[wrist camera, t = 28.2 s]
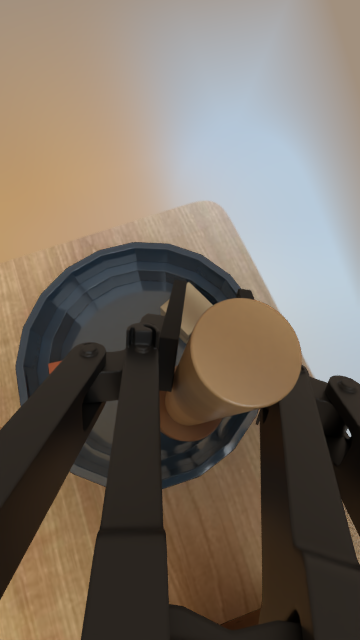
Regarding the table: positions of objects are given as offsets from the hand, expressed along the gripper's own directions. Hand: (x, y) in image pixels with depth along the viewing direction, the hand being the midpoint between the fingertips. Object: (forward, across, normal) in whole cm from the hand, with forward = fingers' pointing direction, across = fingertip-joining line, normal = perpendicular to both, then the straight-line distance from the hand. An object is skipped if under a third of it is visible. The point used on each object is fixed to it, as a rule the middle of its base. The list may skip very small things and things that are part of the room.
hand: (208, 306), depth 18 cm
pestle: (0, -1, -8) cm, 8 cm away
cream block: (+9, -1, -6) cm, 11 cm away
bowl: (+6, -4, -10) cm, 12 cm away
